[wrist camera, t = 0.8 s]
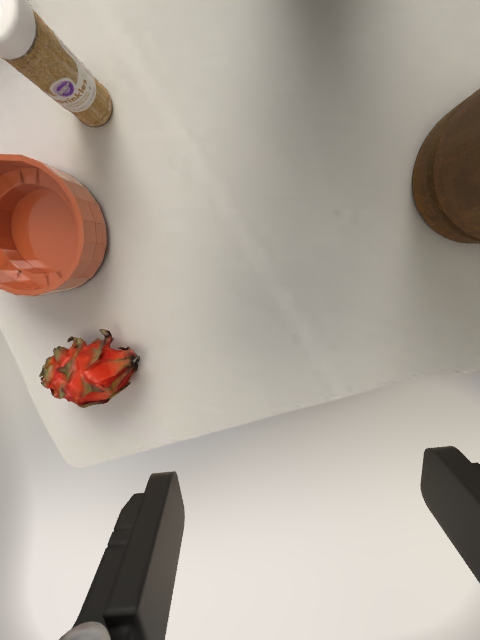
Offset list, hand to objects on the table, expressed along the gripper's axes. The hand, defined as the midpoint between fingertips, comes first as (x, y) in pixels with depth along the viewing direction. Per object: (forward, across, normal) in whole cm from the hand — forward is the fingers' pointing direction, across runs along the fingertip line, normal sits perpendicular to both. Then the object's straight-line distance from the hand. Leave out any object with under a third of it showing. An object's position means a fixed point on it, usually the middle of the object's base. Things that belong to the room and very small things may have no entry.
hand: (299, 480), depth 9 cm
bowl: (+30, +24, -10) cm, 40 cm away
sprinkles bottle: (+32, +16, -22) cm, 42 cm away
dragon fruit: (+28, +20, +7) cm, 36 cm away
